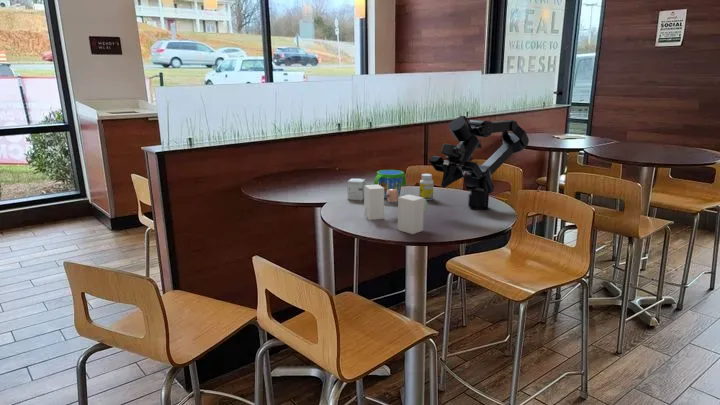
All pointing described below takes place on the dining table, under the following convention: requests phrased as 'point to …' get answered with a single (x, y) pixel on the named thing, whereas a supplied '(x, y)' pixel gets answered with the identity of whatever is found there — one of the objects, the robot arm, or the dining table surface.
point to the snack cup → (390, 180)
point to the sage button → (425, 205)
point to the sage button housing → (410, 213)
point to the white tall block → (374, 202)
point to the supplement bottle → (426, 187)
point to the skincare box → (356, 189)
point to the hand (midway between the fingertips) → (442, 186)
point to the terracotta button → (392, 195)
